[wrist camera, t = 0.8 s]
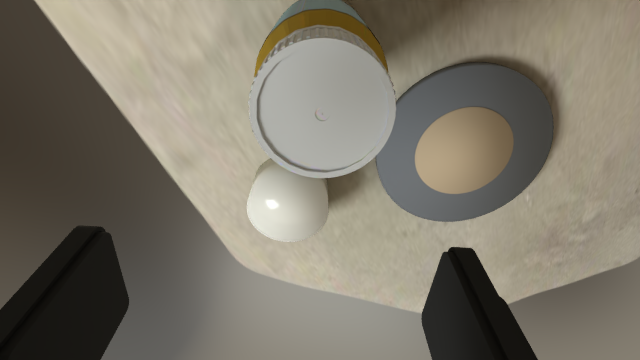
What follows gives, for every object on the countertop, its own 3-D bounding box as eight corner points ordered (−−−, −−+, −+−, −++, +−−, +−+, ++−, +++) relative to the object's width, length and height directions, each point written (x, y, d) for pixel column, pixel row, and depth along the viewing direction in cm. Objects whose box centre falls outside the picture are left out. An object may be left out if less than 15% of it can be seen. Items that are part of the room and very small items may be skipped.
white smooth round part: (252, 151, 33) (245, 173, 29) (330, 155, 33) (331, 177, 29) (255, 214, 36) (248, 240, 33) (324, 217, 36) (325, 243, 33)
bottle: (258, 17, 27) (204, 66, 14) (348, -23, 25) (379, -8, 13) (296, 102, 30) (280, 205, 17) (376, 70, 29) (425, 157, 16)
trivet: (389, 56, 28) (392, 59, 27) (576, 68, 29) (585, 71, 28) (365, 211, 36) (366, 218, 35) (513, 218, 36) (518, 225, 36)
